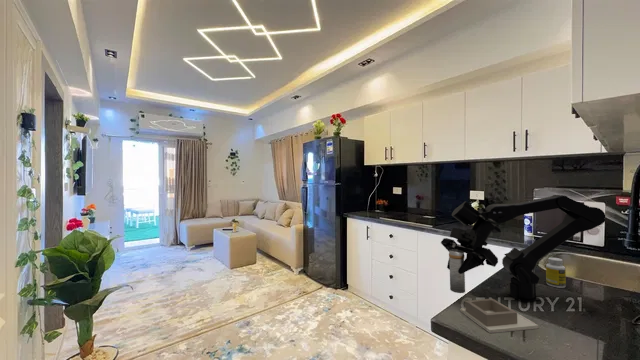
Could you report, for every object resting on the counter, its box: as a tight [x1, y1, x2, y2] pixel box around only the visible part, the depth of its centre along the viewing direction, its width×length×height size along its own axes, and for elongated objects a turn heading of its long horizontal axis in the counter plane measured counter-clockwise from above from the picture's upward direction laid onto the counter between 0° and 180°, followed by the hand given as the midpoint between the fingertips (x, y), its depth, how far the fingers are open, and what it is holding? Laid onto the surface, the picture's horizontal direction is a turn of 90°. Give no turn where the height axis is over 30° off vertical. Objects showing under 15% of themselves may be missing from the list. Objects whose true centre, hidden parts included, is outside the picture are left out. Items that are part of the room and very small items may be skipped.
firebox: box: [459, 298, 539, 334], centre depth 76 cm, size 14×12×4 cm
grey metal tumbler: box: [448, 250, 466, 294], centre depth 88 cm, size 5×5×13 cm
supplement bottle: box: [545, 257, 567, 289], centre depth 98 cm, size 5×5×10 cm
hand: (453, 270), depth 88 cm, fingers closed on grey metal tumbler, 4 cm apart
